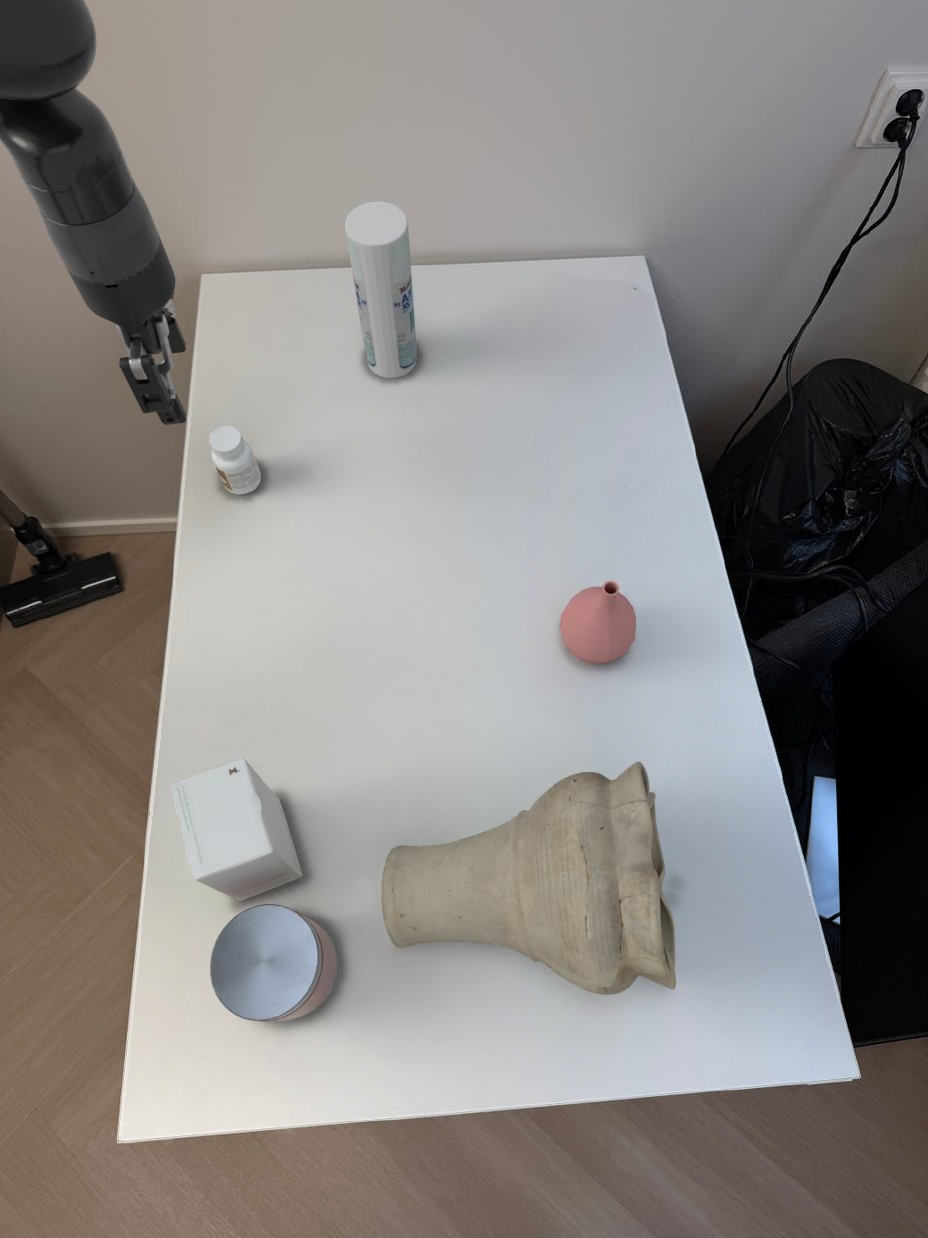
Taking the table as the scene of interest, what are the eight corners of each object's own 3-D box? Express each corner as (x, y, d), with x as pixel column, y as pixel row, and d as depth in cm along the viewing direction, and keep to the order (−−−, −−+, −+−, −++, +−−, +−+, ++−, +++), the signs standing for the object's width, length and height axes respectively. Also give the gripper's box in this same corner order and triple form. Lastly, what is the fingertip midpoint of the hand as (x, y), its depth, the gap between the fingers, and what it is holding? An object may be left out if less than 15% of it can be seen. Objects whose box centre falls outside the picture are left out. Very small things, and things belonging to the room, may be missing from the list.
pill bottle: (220, 468, 98) (201, 426, 91) (258, 460, 98) (242, 417, 91) (226, 499, 96) (207, 459, 89) (264, 490, 96) (248, 450, 89)
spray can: (370, 337, 106) (349, 198, 88) (421, 341, 106) (411, 202, 88) (362, 377, 103) (339, 242, 85) (415, 381, 103) (403, 247, 85)
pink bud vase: (611, 598, 90) (631, 542, 80) (642, 660, 87) (667, 610, 76) (545, 620, 89) (556, 566, 78) (573, 684, 86) (589, 637, 75)
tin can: (248, 1030, 73) (213, 1033, 63) (238, 928, 76) (204, 916, 66) (345, 1008, 74) (326, 1007, 64) (331, 908, 77) (311, 892, 67)
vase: (298, 1045, 61) (696, 1038, 55) (295, 745, 67) (655, 709, 61) (394, 993, 81) (692, 984, 75) (385, 767, 87) (661, 742, 81)
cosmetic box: (217, 820, 80) (164, 780, 66) (284, 795, 81) (245, 750, 67) (239, 906, 77) (188, 883, 63) (308, 879, 78) (274, 850, 64)
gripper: (65, 185, 68) (137, 332, 82) (54, 317, 62) (133, 451, 76) (159, 176, 68) (214, 324, 83) (157, 306, 62) (216, 441, 77)
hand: (175, 385), depth 80 cm, fingers open, 8 cm apart
